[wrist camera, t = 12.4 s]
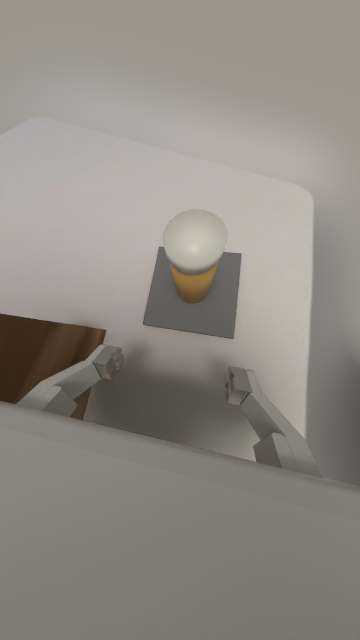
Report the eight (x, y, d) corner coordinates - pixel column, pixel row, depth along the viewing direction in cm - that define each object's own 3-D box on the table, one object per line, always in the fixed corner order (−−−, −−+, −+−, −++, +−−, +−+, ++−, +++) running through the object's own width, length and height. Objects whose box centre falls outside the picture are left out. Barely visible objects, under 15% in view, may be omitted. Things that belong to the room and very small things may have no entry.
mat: (144, 324, 16) (142, 324, 16) (160, 249, 18) (159, 246, 18) (232, 338, 15) (233, 338, 15) (239, 256, 17) (241, 253, 16)
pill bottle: (173, 301, 16) (157, 262, 8) (179, 271, 17) (168, 208, 9) (207, 306, 16) (223, 268, 8) (211, 274, 16) (230, 211, 8)
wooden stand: (35, 441, 15) (-528, 797, 3) (72, 324, 17) (-181, 284, 6) (73, 452, 14) (-442, 931, 3) (105, 330, 17) (-96, 299, 5)
